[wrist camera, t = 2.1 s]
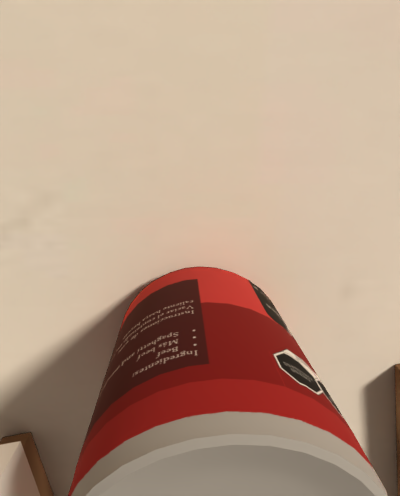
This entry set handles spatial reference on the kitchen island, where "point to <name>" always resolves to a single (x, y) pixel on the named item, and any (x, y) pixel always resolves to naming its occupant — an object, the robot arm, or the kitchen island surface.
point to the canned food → (215, 402)
